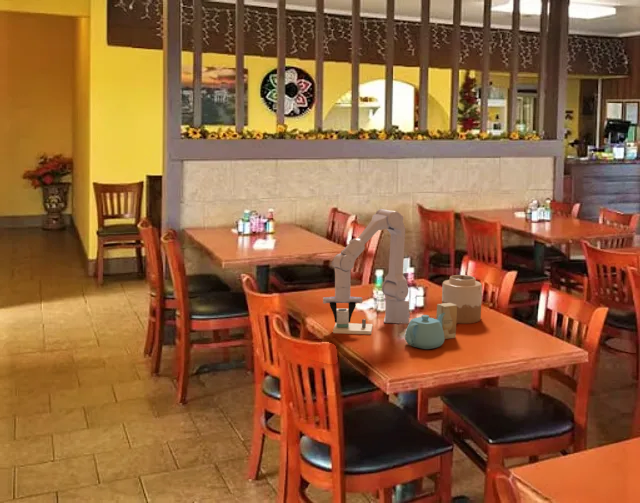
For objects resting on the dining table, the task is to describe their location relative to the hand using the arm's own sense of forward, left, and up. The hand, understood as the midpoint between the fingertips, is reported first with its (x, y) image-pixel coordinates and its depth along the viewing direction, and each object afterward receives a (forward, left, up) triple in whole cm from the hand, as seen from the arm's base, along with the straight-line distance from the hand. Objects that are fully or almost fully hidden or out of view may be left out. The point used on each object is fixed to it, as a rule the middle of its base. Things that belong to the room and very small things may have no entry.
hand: (342, 321), depth 278 cm
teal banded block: (0, 0, -2) cm, 2 cm away
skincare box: (-38, +5, -3) cm, 38 cm away
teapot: (-31, +15, -3) cm, 35 cm away
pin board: (-4, 0, -3) cm, 5 cm away
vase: (-45, -22, -3) cm, 50 cm away
